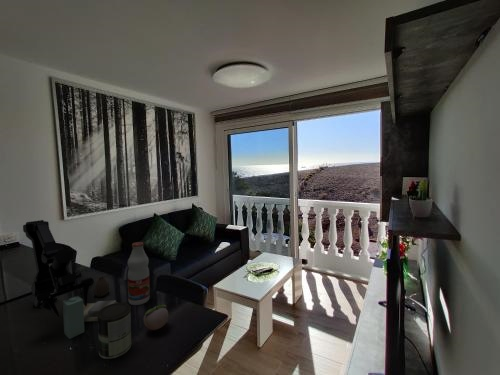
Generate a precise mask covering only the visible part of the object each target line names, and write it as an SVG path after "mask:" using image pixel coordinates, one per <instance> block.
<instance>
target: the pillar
mask: <svg viewBox="0 0 500 375" xmlns="http://www.w3.org/2000/svg"><path fill="white" fill-rule="evenodd" d="M83 304H84V303H83V299H82V297H81V296H79V295H76V296H72V297H70V298H67V299H65V300H63V301H62V314H63V331H64V332H63V334H64V335H65V336H66V337H67V338H68V339H69V340H70V339H73V338H75V337H77V336H80V335H81V334H83V333H85V322H84V309H83Z"/></svg>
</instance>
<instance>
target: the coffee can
mask: <svg viewBox="0 0 500 375" xmlns="http://www.w3.org/2000/svg"><path fill="white" fill-rule="evenodd" d="M131 307H132V305H131V304H130V303H129V302H118V303H114V304H110V305H108V306H105V307H104V308H102V309H101V310H100V311H99V312H98V314H97V318H98V321H97V330H98V331H97V332H98V333H97V334H98V355H99V357H100V358H101V359H105V360H111V359H117V358H119V357H121V356H123V355H125V354H126V353H127V352H129V350H130V349H131V347H132V327H131V326H132V325H131V323H132V321H131V320H132V319H131V310H132V308H131Z"/></svg>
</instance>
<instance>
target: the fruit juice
mask: <svg viewBox="0 0 500 375" xmlns="http://www.w3.org/2000/svg"><path fill="white" fill-rule="evenodd" d="M144 245H145V244H144V242H143V241H136V242H132V244H131V247H132V250H131V252H130V255H129V258H128V259H127V267H128V270H127V297H128V298H127V299H128V300H127V301H128V304H129V305H130V306H139V305H140V306H141V305H144V304H145V303H148V302H149V300H150V297H151V296H150V295H151V294H150V293H151V292H150V288H151V287H150V268H149V267H148V266H149V262H150V261H149V257H148V255H147V253H146V251H145V249H144Z"/></svg>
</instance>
